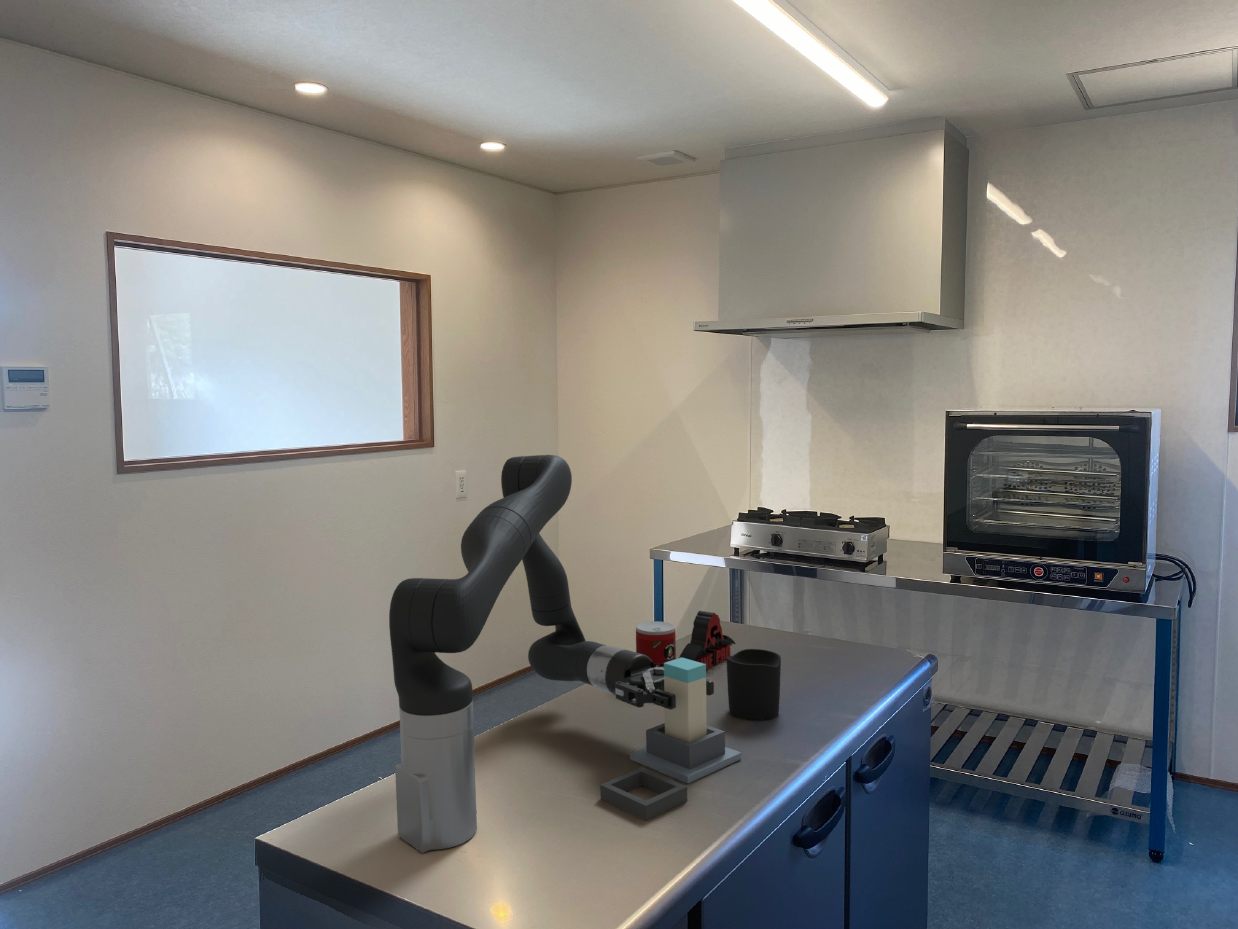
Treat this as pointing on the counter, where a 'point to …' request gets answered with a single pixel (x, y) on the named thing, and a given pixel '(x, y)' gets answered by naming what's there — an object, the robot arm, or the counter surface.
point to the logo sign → (707, 641)
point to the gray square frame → (621, 798)
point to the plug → (686, 699)
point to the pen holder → (754, 684)
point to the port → (685, 754)
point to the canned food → (656, 641)
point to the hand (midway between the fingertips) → (693, 695)
